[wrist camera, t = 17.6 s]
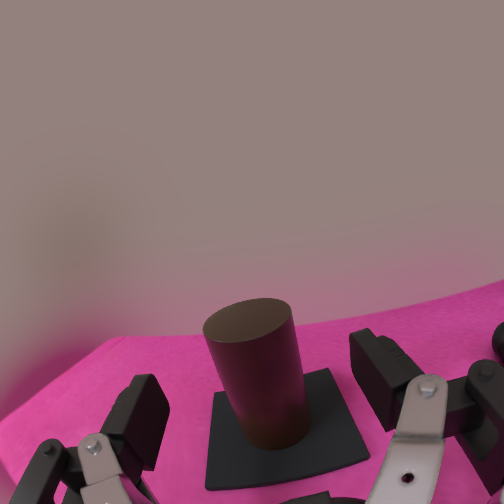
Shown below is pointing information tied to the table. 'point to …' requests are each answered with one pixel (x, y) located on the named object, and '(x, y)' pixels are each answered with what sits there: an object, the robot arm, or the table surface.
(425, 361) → the table surface
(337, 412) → the black mat
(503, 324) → the door handle
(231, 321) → the dark brown cylinder
